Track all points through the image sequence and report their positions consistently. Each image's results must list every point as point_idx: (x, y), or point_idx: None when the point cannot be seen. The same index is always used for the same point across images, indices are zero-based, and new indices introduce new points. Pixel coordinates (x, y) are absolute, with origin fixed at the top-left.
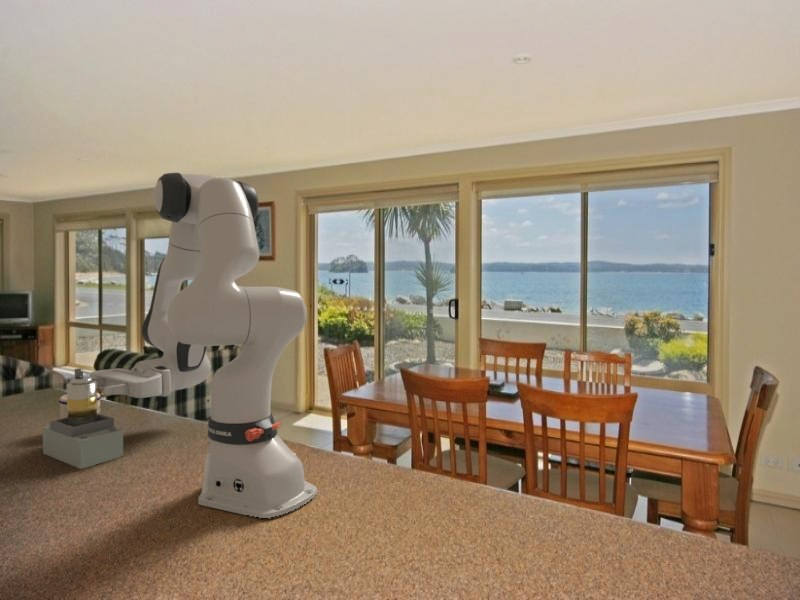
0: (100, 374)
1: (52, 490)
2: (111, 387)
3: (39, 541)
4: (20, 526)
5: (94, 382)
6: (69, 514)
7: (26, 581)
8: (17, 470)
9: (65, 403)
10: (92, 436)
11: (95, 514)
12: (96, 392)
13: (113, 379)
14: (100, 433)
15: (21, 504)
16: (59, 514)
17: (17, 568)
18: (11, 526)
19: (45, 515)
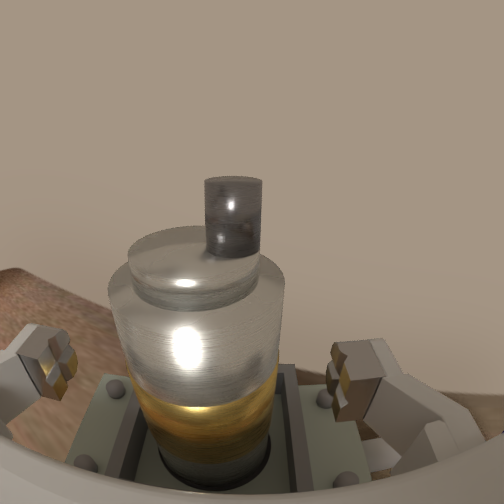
0: (461, 459)
1: (97, 351)
2: (11, 346)
3: (29, 292)
4: (63, 298)
5: (131, 307)
6: (29, 322)
7: (12, 272)
8: None
9: (501, 433)
10: (101, 406)
11: (3, 328)
12: (135, 371)
13: (104, 477)
14: (99, 432)
15: (103, 319)
16: (39, 319)
17: (24, 275)
18: (71, 296)
19: (53, 314)
